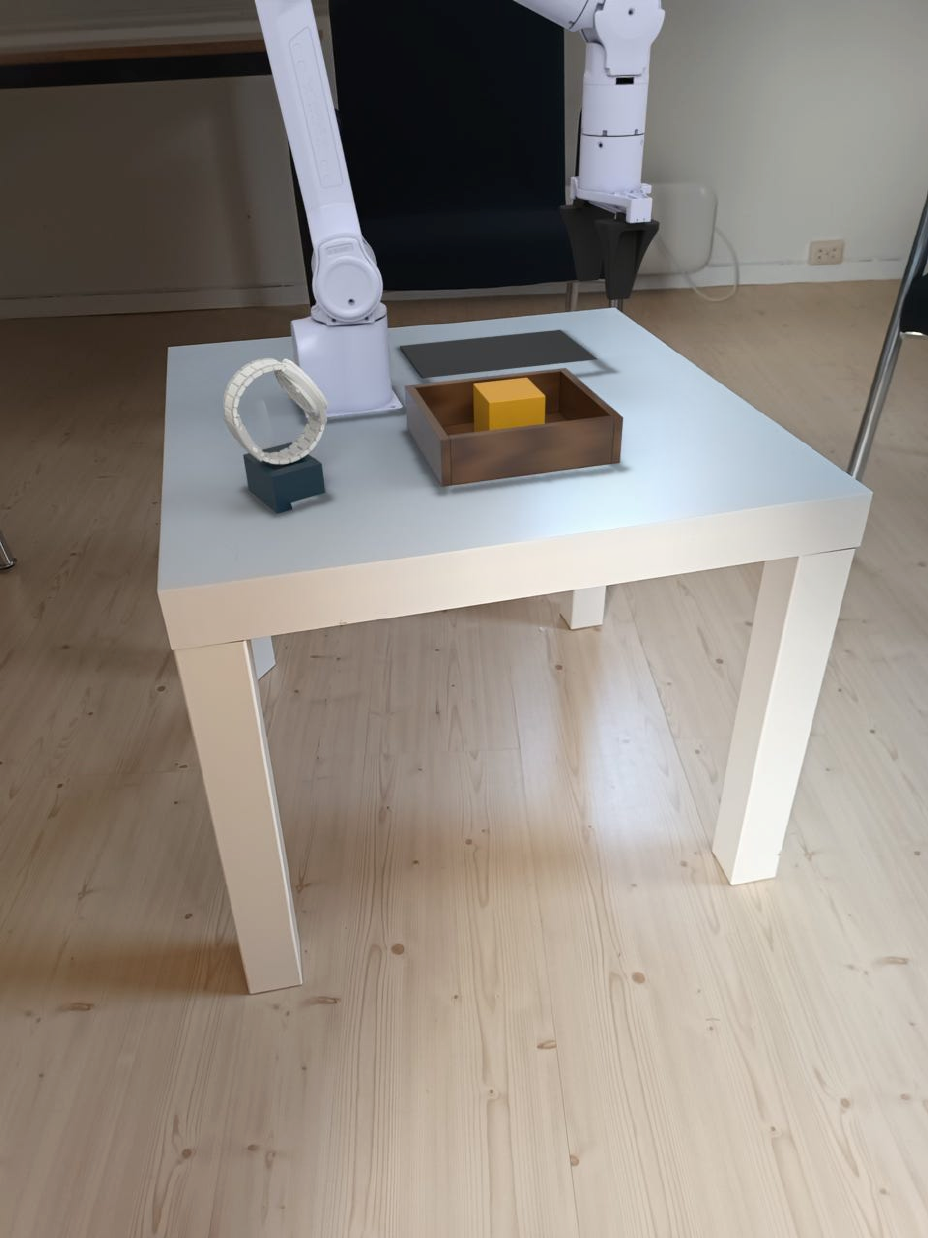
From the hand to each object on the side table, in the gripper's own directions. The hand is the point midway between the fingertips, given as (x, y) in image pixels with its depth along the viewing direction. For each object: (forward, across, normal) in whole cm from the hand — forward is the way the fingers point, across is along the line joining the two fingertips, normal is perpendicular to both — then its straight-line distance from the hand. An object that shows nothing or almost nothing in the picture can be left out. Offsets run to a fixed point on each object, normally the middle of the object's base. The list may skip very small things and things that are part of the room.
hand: (602, 289), depth 91 cm
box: (+10, -13, +14) cm, 21 cm away
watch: (+10, -16, +34) cm, 39 cm away
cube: (+9, -13, +14) cm, 21 cm away
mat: (+10, +12, +7) cm, 17 cm away
